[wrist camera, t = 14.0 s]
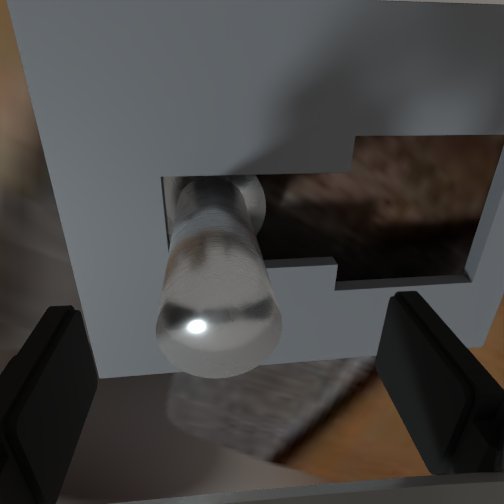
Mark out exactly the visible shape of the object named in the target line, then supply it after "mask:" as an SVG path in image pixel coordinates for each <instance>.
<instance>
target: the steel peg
mask: <svg viewBox="0 0 504 504" xmlns="http://www.w3.org/2000/svg"><path fill="white" fill-rule="evenodd" d="M163 183H164V192H165V202H166V212H167V222H168V232H169V241H170V248H169V254H168V260H167V265H166V271H165V277H164V283H163V289H162V294H161V300H160V306H159V312H158V318H157V324H156V338H157V343H158V345H159V348H160V350H161V352H162V353H163V355H164V356H165V357H166V358H167V360H168V361H169V362H171V363H172V364H173V365H174V366H176V367H177V368H178V369H180V370H182V371H184V372H186V373H189V374H191V375H195V376H198V377H204V378H226V377H232V376H236V375H240V374H243V373H245V372H247V371H250V370H252V369H253V368H255V367H257V366H258V365H260V364H261V363H262V362H264V361H265V360H266V359H267V358H268V357H269V356H270V355H271V354H272V352H273V351H274V349H275V348H276V346H277V344H278V342H279V340H280V337H281V332H282V318H281V314H280V311H279V307H278V304H277V301H276V298H275V295H274V292H273V288H272V285H271V282H270V279H269V276H268V273H267V269H266V266H265V263H264V260H263V257H262V254H261V250H260V247H259V244H258V241H257V238H256V236H257V234H258V233H259V231H260V229H261V227H262V225H263V222H264V218H265V213H266V200H265V194H264V191H263V188H262V186H261V184H260V182H259V180H258V178H257V176H256V175H213V176H168V177H163Z"/></svg>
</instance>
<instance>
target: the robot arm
mask: <svg viewBox="0 0 504 504" xmlns="http://www.w3.org/2000/svg"><path fill="white" fill-rule="evenodd" d="M375 365H376V370H377V373H378V375H379V376H380V378H381V380H382V382H383V384H384V386H385V388H386V390H387V392H388V394H389V396H390V398H391V400H392V401H393V403H394V405H395V407H396V409H397V411H398V413H399V415H400V417H401V419H402V421H403V423H404V424H405V426H406V428H407V430H408V432H409V434H410V436H411V438H412V440H413V442H414V444H415V446H416V447H417V449H418V451H419V453H420V455H421V457H422V459H423V461H424V463H425V465H426V467H427V468H428V470H429V472H430V473H431V474H433V475H431V476H416V477H404V478H392V479H380V480H368V481H356V482H344V483H332V484H320V485H309V486H298V487H286V488H275V489H263V490H253V491H241V492H231V493H220V494H208V495H197V496H187V497H176V498H166V499H156V500H145V501H134V502H124V503H113V504H504V390H503V389H502V387H501V386H500V385H499V384H498V383H497V382H496V381H495V379H494V378H493V377H492V376H491V375H490V374H489V373H488V371H487V370H486V369H485V368H484V367H483V366H482V365H481V363H480V362H479V361H478V360H477V359H476V358H475V357H474V355H473V354H472V353H471V352H470V351H469V350H468V349H467V347H466V346H465V345H464V344H463V343H462V342H461V341H460V339H459V338H458V337H457V336H456V335H455V334H454V333H453V331H452V330H451V329H450V328H449V327H448V326H447V325H446V323H445V322H444V321H443V320H442V319H441V318H440V317H439V315H438V314H437V313H436V312H435V311H434V310H433V309H432V307H431V306H430V305H429V304H428V303H427V302H426V300H425V299H424V298H423V297H422V296H421V295H420V294H419V293H418V292H417V291H398V292H396V293H395V295H394V296H392V297H390V299H389V303H388V307H387V311H386V316H385V320H384V325H383V329H382V333H381V338H380V342H379V347H378V351H377V355H376V360H375ZM96 389H97V374H96V370H95V367H94V363H93V359H92V355H91V351H90V347H89V343H88V339H87V335H86V331H85V327H84V323H83V319H82V315H81V312H80V311H79V310H74V308H73V306H71V305H69V306H51V307H49V308H48V309H47V310H46V312H45V313H44V315H43V316H42V318H41V319H40V321H39V322H38V324H37V325H36V327H35V329H34V330H33V332H32V333H31V335H30V336H29V338H28V339H27V341H26V342H25V344H24V345H23V347H22V348H21V350H20V351H19V353H18V354H17V355H15V356H14V357H13V358H12V359H11V360H10V361H9V363H8V364H7V366H6V367H5V369H4V371H3V372H2V373H1V375H0V504H55V503H56V502H57V499H58V496H59V493H60V491H61V488H62V485H63V482H64V479H65V476H66V474H67V471H68V468H69V465H70V462H71V459H72V457H73V454H74V451H75V448H76V445H77V442H78V440H79V437H80V434H81V431H82V428H83V426H84V423H85V420H86V417H87V414H88V412H89V408H90V406H91V403H92V400H93V397H94V395H95V392H96ZM435 474H436V475H435Z"/></svg>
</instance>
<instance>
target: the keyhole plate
mask: <svg viewBox="0 0 504 504" xmlns="http://www.w3.org/2000/svg"><path fill="white" fill-rule="evenodd" d="M7 4H8V8H9V12H10V16H11V20H12V24H13V28H14V32H15V36H16V40H17V45H18V49H19V53H20V57H21V61H22V65H23V69H24V73H25V77H26V81H27V85H28V89H29V93H30V97H31V102H32V106H33V110H34V114H35V118H36V122H37V126H38V130H39V134H40V138H41V142H42V146H43V150H44V154H45V158H46V163H47V167H48V171H49V175H50V179H51V183H52V187H53V191H54V195H55V199H56V203H57V207H58V211H59V215H60V220H61V224H62V228H63V232H64V236H65V240H66V244H67V248H68V252H69V256H70V260H71V264H72V268H73V272H74V276H75V281H76V285H77V289H78V293H79V297H80V301H81V305H82V309H83V313H84V317H85V321H86V325H87V329H88V333H89V338H90V342H91V346H92V350H93V354H94V358H95V362H96V366H97V370H98V374H99V378H111V377H124V376H136V375H148V374H160V373H172V372H184V371H182V370H180V369H178V368H177V367H176V366H174V365H173V364H172V363H171V362H169V361H168V360H167V358H166V357H165V356H164V355H163V353H162V352H161V350H160V348H159V345H158V343H157V338H156V324H157V318H158V312H159V306H160V300H161V294H162V289H163V283H164V277H165V271H166V265H167V260H168V254H169V248H170V242H169V232H168V222H167V212H166V202H165V192H164V183H163V177H168V176H213V175H258V174H303V173H348V172H351V165H352V158H353V151H354V143H355V136H402V135H498V134H504V5H497V4H468V3H438V2H409V1H381V0H7ZM264 263H265V266H266V269H267V273H268V276H269V279H270V282H271V285H272V288H273V292H274V295H275V298H276V301H277V304H278V307H279V311H280V314H281V318H282V332H281V337H280V340H279V342H278V344H277V346H276V348H275V349H274V351H273V352H272V354H271V355H270V356H269V357H268V358H267V359H266V360H265V361H264V362H262V363H261V364H260V365H268V364H280V363H292V362H304V361H316V360H328V359H340V358H352V357H364V356H376V355H377V351H378V347H379V342H380V338H381V333H382V329H383V325H384V320H385V316H386V311H387V307H388V303H389V299H390V297H392V296H394V295H395V293H396V292H398V291H417V292H418V293H419V294H420V295H421V296H422V297H423V298H424V299H425V300H426V302H427V303H428V304H429V305H430V306H431V307H432V309H433V310H434V311H435V312H436V313H437V314H438V315H439V317H440V318H441V319H442V320H443V321H444V322H445V323H446V325H447V326H448V327H449V328H450V329H451V330H452V331H453V333H454V334H455V335H456V336H457V337H458V338H459V339H460V341H461V342H462V343H463V344H464V345H465V346H466V347H467V348H473V347H483V345H484V342H485V340H486V337H487V335H488V332H489V329H490V327H491V324H492V322H493V319H494V317H495V314H496V312H497V309H498V306H499V304H500V301H501V299H502V296H503V294H504V147H503V150H502V153H501V156H500V159H499V162H498V165H497V168H496V171H495V175H494V178H493V181H492V184H491V187H490V190H489V193H488V196H487V200H486V203H485V206H484V209H483V212H482V215H481V218H480V221H479V224H478V228H477V231H476V234H475V237H474V240H473V243H472V246H471V249H470V253H469V256H468V259H467V262H466V265H465V268H464V271H463V274H459V275H442V276H425V277H407V278H390V279H373V280H356V281H338V282H336V275H337V267H338V264H337V263H336V261H335V260H334V258H333V257H314V258H294V259H274V260H264Z"/></svg>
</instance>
